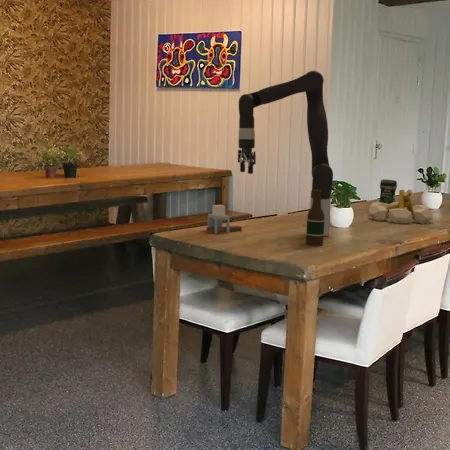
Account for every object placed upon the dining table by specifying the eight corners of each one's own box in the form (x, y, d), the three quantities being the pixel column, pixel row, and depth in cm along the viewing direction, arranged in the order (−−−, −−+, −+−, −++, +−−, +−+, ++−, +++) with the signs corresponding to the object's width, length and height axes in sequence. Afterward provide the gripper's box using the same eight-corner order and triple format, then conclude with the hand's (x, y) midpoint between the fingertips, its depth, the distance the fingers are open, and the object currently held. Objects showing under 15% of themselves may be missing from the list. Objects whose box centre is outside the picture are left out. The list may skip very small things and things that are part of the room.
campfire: (435, 226, 355) (438, 194, 352) (369, 222, 360) (371, 190, 357) (427, 216, 389) (429, 186, 386) (366, 213, 394) (368, 183, 391)
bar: (241, 232, 320) (241, 226, 320) (208, 233, 313) (208, 228, 312) (238, 231, 323) (239, 225, 322) (206, 232, 315) (206, 227, 315)
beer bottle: (302, 242, 298) (305, 188, 294) (317, 242, 301) (321, 188, 297) (310, 246, 291) (313, 190, 287) (326, 245, 294) (330, 190, 290)
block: (224, 215, 315) (225, 206, 314) (215, 216, 313) (216, 206, 313) (221, 214, 319) (221, 204, 318) (212, 214, 318) (212, 205, 317)
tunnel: (229, 233, 315) (229, 216, 313) (215, 233, 312) (215, 217, 310) (221, 229, 323) (221, 213, 322) (207, 230, 321) (207, 213, 319)
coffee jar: (376, 210, 403) (378, 179, 399) (380, 209, 409) (382, 178, 406) (392, 212, 398) (394, 180, 395) (396, 210, 405) (398, 179, 401)
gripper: (232, 137, 321) (232, 171, 323) (246, 138, 308) (245, 174, 311) (247, 137, 324) (247, 171, 326) (260, 138, 311) (260, 173, 314)
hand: (246, 172), depth 318 cm, fingers open, 8 cm apart
